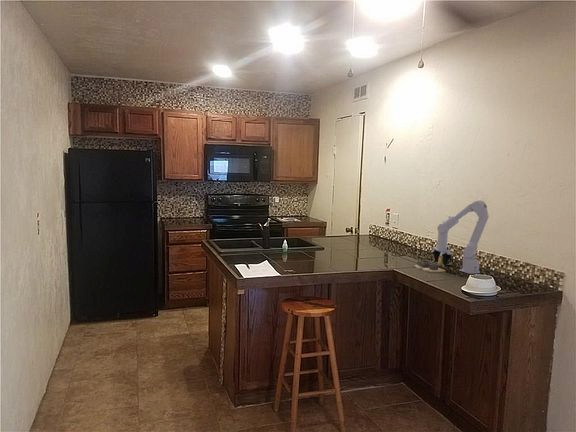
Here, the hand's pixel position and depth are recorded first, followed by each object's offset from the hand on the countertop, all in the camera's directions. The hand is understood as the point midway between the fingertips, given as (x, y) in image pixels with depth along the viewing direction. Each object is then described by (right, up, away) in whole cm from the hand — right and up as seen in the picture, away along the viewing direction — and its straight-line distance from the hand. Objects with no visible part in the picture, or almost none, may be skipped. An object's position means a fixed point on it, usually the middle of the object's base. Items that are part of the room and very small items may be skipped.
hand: (440, 263), depth 283 cm
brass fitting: (0, -3, 0) cm, 3 cm away
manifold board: (-9, -3, -5) cm, 11 cm away
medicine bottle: (+6, -2, +12) cm, 13 cm away
